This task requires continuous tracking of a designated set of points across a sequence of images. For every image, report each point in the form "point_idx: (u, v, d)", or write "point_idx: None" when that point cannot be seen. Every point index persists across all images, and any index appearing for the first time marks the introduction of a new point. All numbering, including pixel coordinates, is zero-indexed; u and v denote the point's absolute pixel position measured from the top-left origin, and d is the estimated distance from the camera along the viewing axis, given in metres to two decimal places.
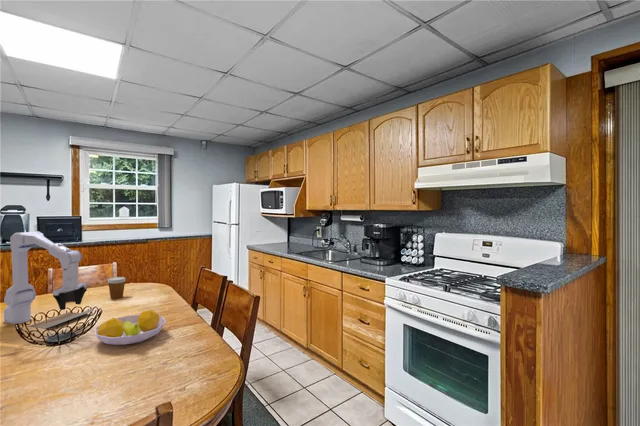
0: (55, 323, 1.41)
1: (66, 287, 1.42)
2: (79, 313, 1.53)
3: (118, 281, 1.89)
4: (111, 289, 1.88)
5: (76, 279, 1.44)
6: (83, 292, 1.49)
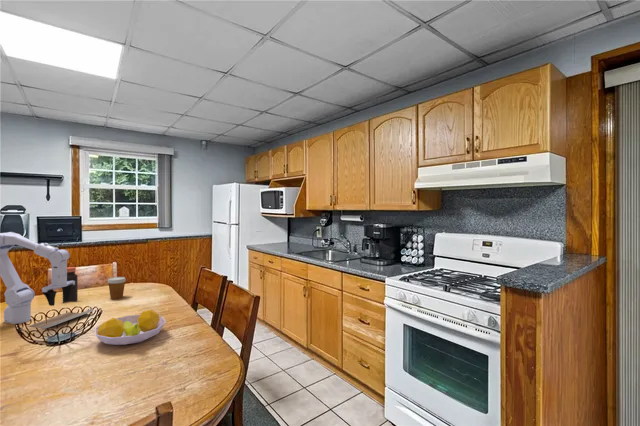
0: (55, 323, 1.41)
1: (55, 284, 1.49)
2: (79, 313, 1.53)
3: (118, 281, 1.89)
4: (111, 289, 1.88)
5: (64, 277, 1.51)
6: (71, 289, 1.55)
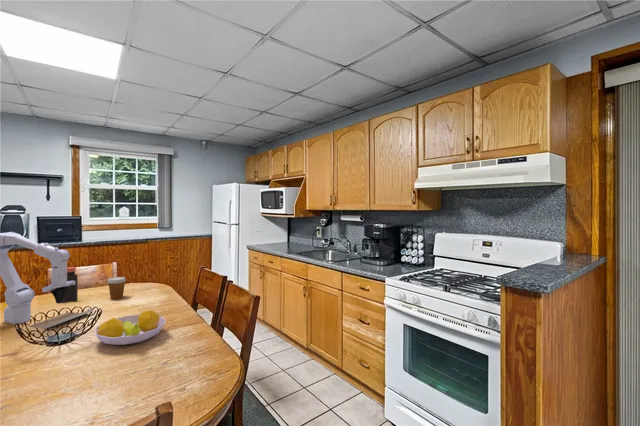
0: (55, 323, 1.41)
1: (55, 284, 1.49)
2: (79, 313, 1.53)
3: (118, 281, 1.89)
4: (111, 289, 1.88)
5: (65, 277, 1.51)
6: (65, 291, 1.52)
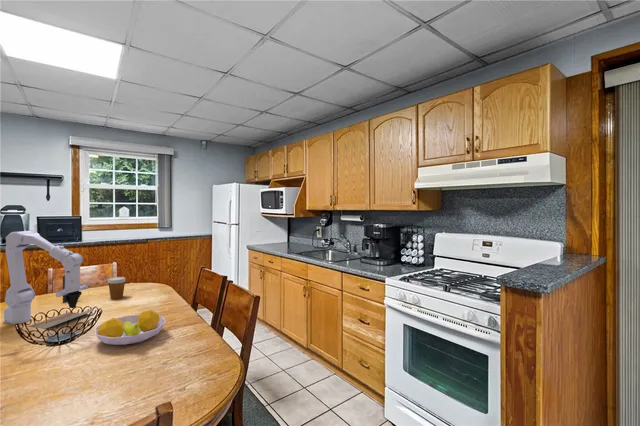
0: (55, 323, 1.41)
1: (68, 289, 1.48)
2: (79, 313, 1.53)
3: (118, 281, 1.89)
4: (111, 289, 1.88)
5: (78, 281, 1.50)
6: (78, 295, 1.51)
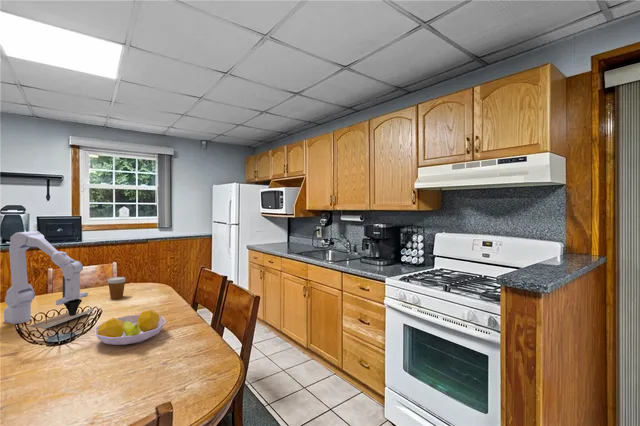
0: (55, 323, 1.41)
1: (68, 297, 1.48)
2: (79, 314, 1.53)
3: (118, 281, 1.89)
4: (111, 289, 1.88)
5: (78, 289, 1.50)
6: (78, 303, 1.51)
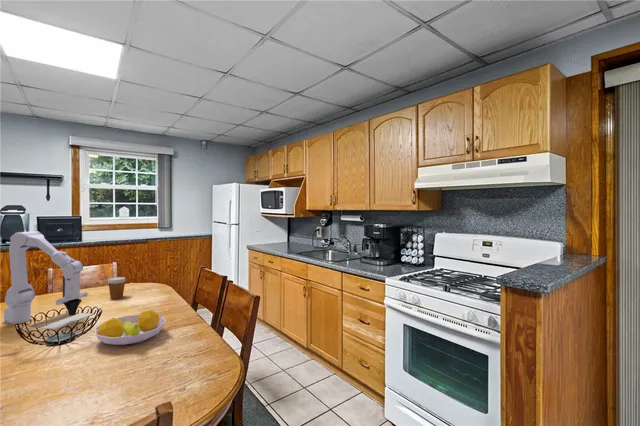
0: None
1: (68, 296, 1.48)
2: (80, 318, 1.53)
3: (118, 281, 1.89)
4: (111, 289, 1.88)
5: (78, 289, 1.50)
6: (78, 303, 1.51)
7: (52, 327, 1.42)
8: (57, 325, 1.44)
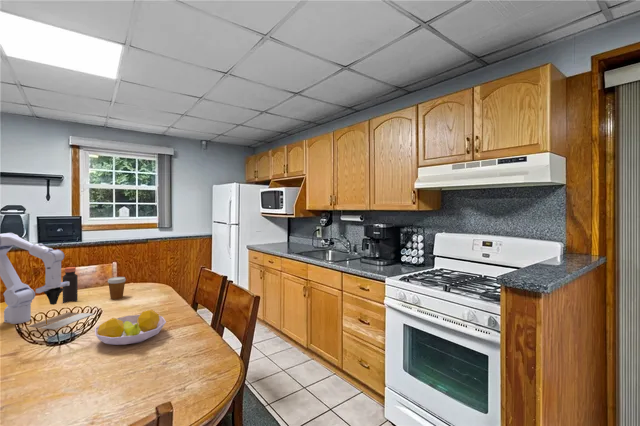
0: None
1: (49, 285, 1.47)
2: (80, 318, 1.53)
3: (118, 281, 1.89)
4: (111, 289, 1.88)
5: (59, 277, 1.50)
6: (59, 292, 1.50)
7: (52, 327, 1.42)
8: (57, 325, 1.44)
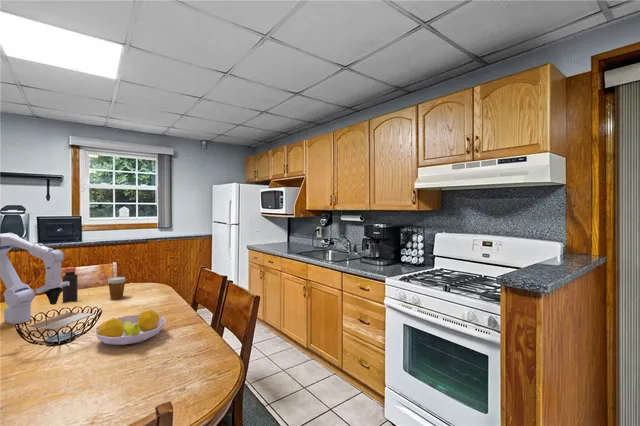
0: None
1: (49, 285, 1.47)
2: (80, 318, 1.53)
3: (118, 281, 1.89)
4: (111, 289, 1.88)
5: (59, 277, 1.50)
6: (59, 292, 1.50)
7: (52, 327, 1.42)
8: (57, 325, 1.44)
